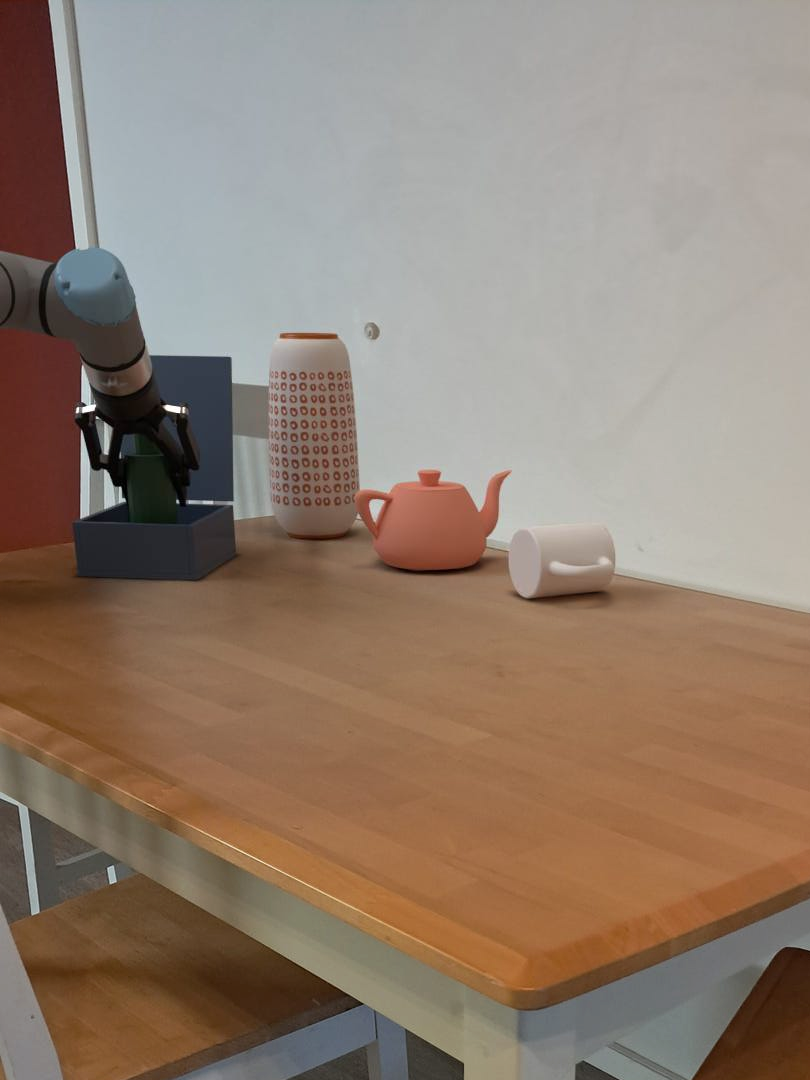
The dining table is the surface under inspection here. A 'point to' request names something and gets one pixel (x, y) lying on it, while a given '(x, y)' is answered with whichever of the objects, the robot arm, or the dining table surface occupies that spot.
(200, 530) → the chest
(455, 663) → the dining table surface
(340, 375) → the white patterned vase
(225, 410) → the chest lid
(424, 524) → the teapot
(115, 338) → the robot arm
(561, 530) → the mug
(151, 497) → the bottle
